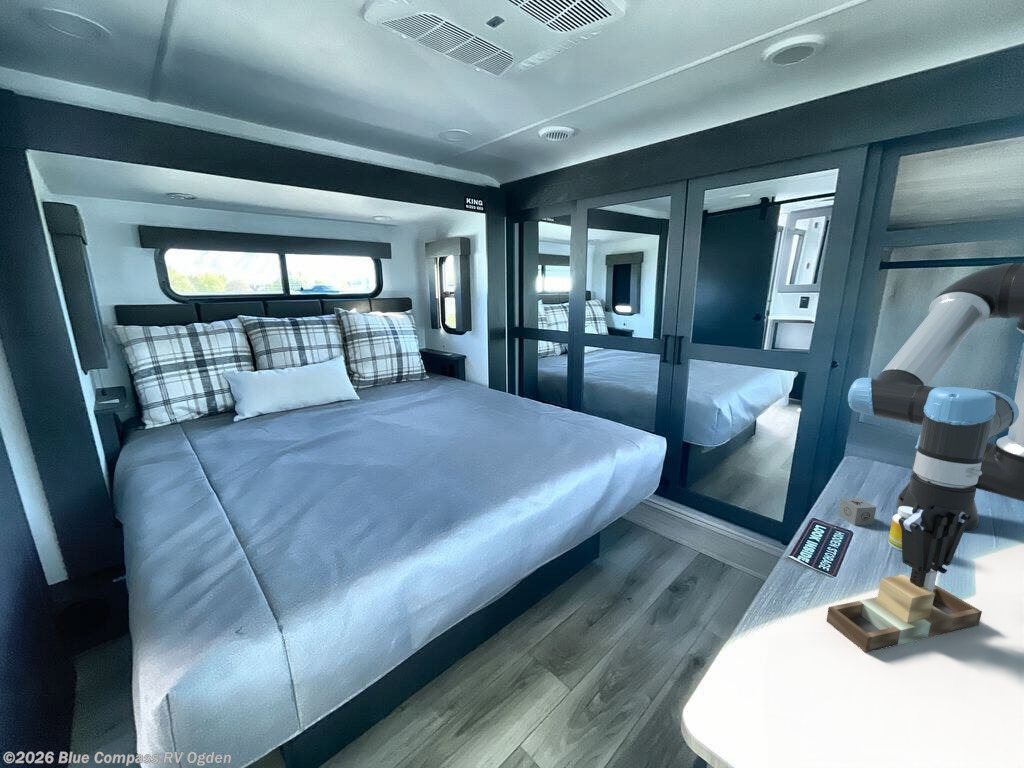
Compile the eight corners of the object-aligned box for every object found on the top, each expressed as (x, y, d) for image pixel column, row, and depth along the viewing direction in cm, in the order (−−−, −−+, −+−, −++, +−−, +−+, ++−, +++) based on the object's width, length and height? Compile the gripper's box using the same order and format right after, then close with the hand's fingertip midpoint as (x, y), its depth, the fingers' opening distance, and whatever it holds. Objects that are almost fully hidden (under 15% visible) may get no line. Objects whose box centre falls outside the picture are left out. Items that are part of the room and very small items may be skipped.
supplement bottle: (890, 537, 99) (897, 501, 97) (921, 547, 95) (928, 510, 93) (885, 546, 96) (892, 509, 94) (916, 557, 92) (924, 519, 90)
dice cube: (838, 515, 110) (841, 498, 109) (856, 514, 110) (859, 497, 109) (854, 525, 105) (857, 508, 104) (873, 524, 105) (876, 507, 104)
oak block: (898, 597, 76) (902, 574, 75) (929, 617, 72) (935, 593, 70) (876, 602, 75) (880, 578, 74) (906, 622, 71) (912, 598, 70)
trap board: (932, 598, 80) (935, 584, 79) (978, 625, 73) (982, 611, 73) (826, 621, 75) (828, 607, 75) (865, 652, 69) (868, 637, 68)
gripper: (940, 494, 64) (913, 621, 69) (1002, 484, 66) (972, 608, 71) (888, 474, 71) (867, 591, 76) (946, 466, 73) (922, 579, 79)
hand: (918, 599), depth 74 cm, fingers closed
